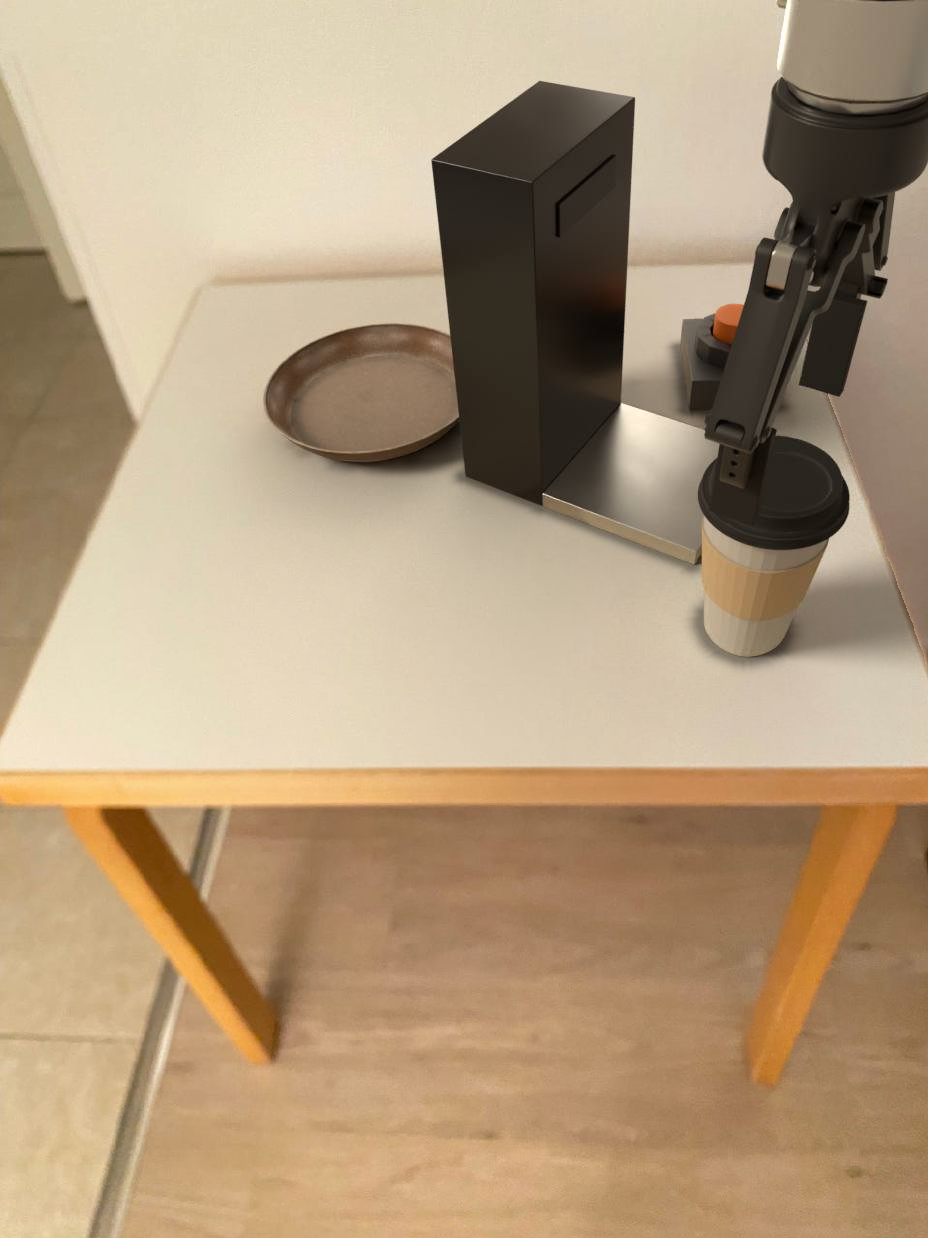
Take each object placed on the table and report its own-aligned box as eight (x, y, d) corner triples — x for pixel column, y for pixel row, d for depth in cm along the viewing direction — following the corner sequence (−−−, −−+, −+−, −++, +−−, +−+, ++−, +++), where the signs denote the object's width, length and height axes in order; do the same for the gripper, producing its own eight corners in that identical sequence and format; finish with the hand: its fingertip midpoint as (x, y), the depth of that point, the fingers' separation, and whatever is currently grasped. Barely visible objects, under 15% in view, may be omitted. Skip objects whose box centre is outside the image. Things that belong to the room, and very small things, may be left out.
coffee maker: (764, 463, 84) (830, 129, 63) (694, 565, 77) (740, 228, 56) (546, 391, 93) (539, 79, 72) (465, 476, 86) (430, 158, 65)
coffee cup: (715, 564, 77) (740, 410, 65) (831, 611, 73) (879, 456, 61) (657, 643, 72) (674, 492, 61) (778, 698, 68) (820, 547, 57)
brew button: (755, 344, 88) (759, 324, 86) (715, 346, 88) (717, 326, 86) (750, 322, 90) (753, 302, 88) (711, 323, 90) (713, 303, 89)
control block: (777, 407, 89) (787, 360, 85) (688, 410, 90) (694, 364, 86) (762, 344, 95) (770, 298, 91) (679, 347, 96) (684, 302, 92)
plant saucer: (288, 352, 101) (281, 324, 99) (486, 342, 99) (483, 313, 97) (253, 485, 88) (244, 457, 85) (481, 476, 86) (478, 447, 84)
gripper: (872, -22, 51) (798, 328, 68) (656, 183, 39) (629, 552, 55) (1023, -5, 48) (908, 357, 64) (841, 224, 36) (755, 602, 52)
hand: (779, 448), depth 60 cm, fingers open, 13 cm apart
